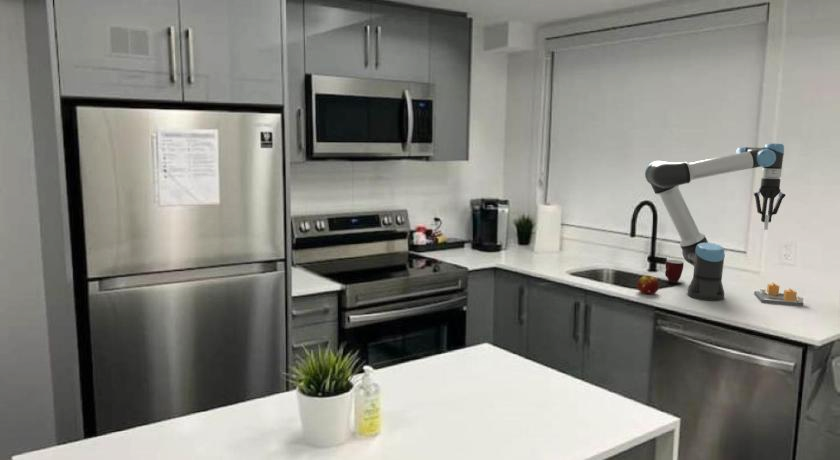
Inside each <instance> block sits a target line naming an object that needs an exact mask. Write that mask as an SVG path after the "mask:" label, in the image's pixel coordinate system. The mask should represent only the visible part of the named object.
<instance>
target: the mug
mask: <svg viewBox="0 0 840 460" xmlns="http://www.w3.org/2000/svg"><path fill="white" fill-rule="evenodd" d="M684 264H685V263H684V261H682V260H677V259H665V271H664V272H665V273H664V275H665V277H666V278H667V280H668V282H670V283H677V282H679V280H680V279H681V277H682V274H683V270H684Z"/></svg>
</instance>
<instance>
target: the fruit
mask: <svg viewBox="0 0 840 460" xmlns="http://www.w3.org/2000/svg"><path fill="white" fill-rule="evenodd" d="M659 285H660V283H659V280H658V278H656V277H655V276H652V275H650V274H649V275H642V276H641V277H640V278H639V279H638V281H637V284H636V286H637V290H638V291H639V292H640V293H642V294H645V295H655V294H656V293H657V292H658V291H659V288H660V286H659Z"/></svg>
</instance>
